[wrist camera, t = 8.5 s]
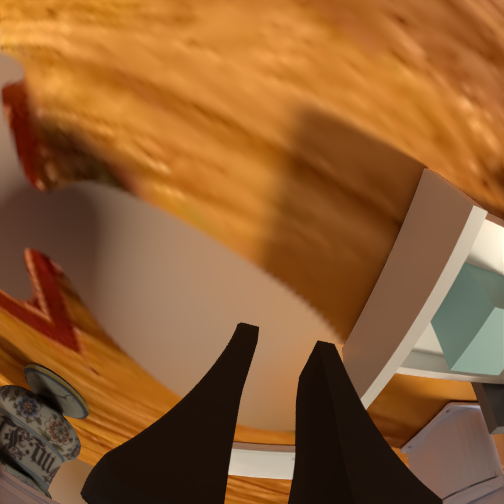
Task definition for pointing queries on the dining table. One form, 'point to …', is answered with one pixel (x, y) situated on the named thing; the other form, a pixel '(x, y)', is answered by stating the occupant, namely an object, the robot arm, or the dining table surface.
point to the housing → (491, 405)
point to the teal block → (472, 322)
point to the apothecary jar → (39, 427)
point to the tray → (421, 288)
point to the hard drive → (262, 460)
